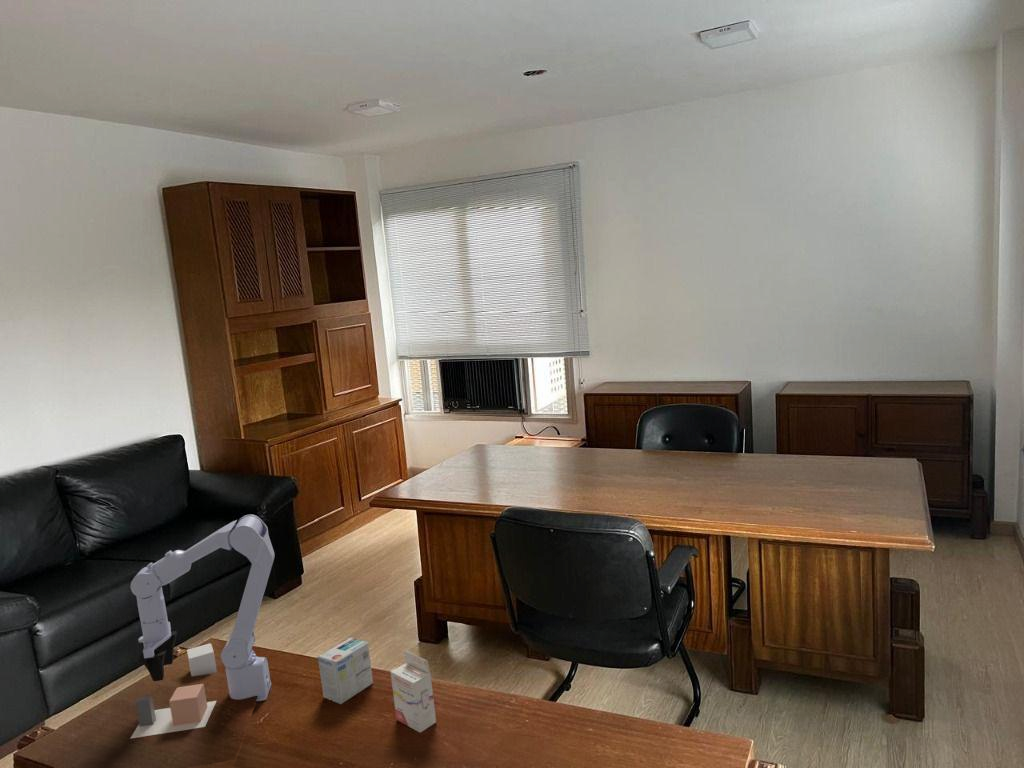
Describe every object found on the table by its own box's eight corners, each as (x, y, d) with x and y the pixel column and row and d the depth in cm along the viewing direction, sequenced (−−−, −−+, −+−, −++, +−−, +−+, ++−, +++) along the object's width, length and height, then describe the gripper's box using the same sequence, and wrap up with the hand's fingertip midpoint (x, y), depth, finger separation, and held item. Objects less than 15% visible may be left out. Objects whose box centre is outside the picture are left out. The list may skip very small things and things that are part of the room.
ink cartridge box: (394, 720, 171) (387, 658, 169) (412, 710, 175) (404, 649, 173) (420, 733, 166) (412, 669, 163) (437, 722, 169) (430, 659, 167)
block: (207, 707, 182) (203, 683, 181) (200, 721, 176) (196, 697, 175) (181, 711, 181) (177, 687, 181) (173, 725, 176) (169, 701, 175)
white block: (190, 671, 204) (186, 649, 203) (214, 664, 206) (210, 642, 205) (192, 680, 198) (188, 658, 197) (217, 673, 201) (213, 651, 200)
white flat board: (217, 704, 185) (212, 677, 184) (205, 730, 174) (200, 701, 173) (147, 715, 183) (142, 687, 182) (130, 742, 172) (125, 713, 171)
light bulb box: (355, 676, 192) (350, 636, 191) (374, 683, 188) (369, 641, 187) (322, 698, 184) (316, 655, 182) (341, 705, 180) (335, 661, 178)
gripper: (145, 608, 189) (154, 660, 191) (125, 634, 175) (135, 690, 177) (175, 603, 190) (184, 655, 192) (158, 629, 176) (167, 685, 178)
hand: (163, 671), depth 184 cm, fingers open, 7 cm apart
